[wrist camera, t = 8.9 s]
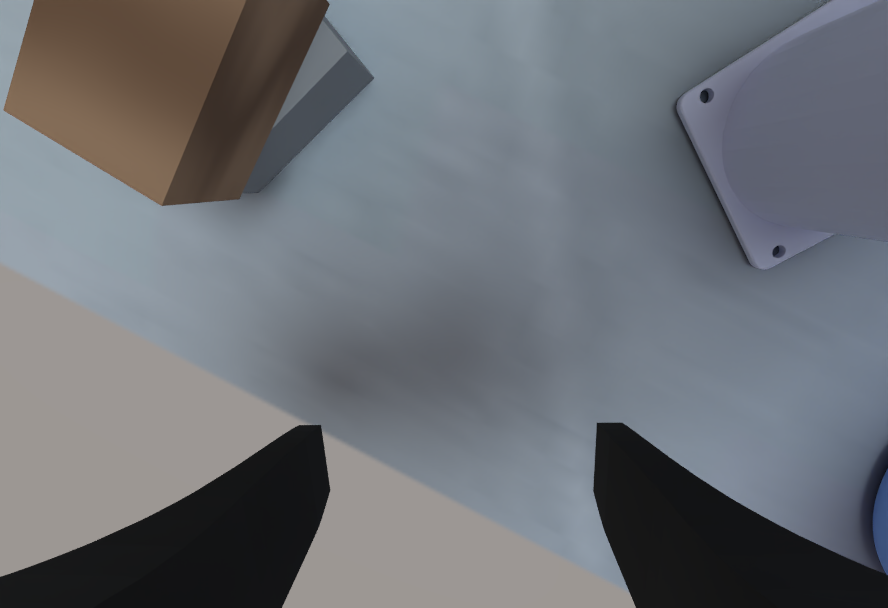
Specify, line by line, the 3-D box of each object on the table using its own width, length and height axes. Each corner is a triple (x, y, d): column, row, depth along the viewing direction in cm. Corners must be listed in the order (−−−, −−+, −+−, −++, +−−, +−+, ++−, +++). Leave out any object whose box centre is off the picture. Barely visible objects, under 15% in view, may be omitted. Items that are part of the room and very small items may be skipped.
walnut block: (200, -84, 13) (87, -192, 9) (329, 4, 14) (272, -65, 10) (123, 127, 15) (3, 110, 11) (239, 199, 15) (161, 205, 12)
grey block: (297, -18, 17) (246, -75, 13) (375, 78, 18) (347, 51, 14) (185, 108, 19) (109, 90, 15) (260, 192, 19) (207, 195, 15)
